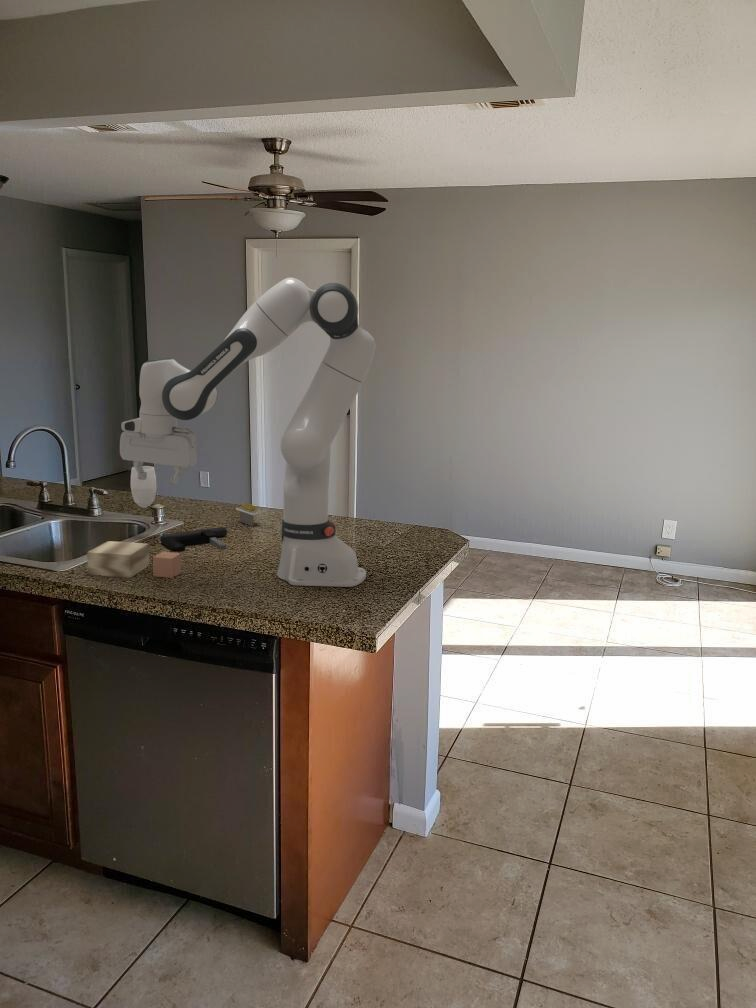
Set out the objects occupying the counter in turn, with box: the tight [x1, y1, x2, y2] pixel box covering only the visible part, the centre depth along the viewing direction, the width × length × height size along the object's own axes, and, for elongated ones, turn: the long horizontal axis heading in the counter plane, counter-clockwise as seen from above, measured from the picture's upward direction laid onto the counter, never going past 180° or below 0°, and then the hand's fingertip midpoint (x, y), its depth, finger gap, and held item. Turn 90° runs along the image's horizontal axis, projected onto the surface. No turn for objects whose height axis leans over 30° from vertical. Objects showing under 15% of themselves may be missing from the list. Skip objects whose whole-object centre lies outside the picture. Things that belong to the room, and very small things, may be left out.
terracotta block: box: [152, 551, 182, 579], centre depth 195 cm, size 5×5×5 cm
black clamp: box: [159, 526, 228, 553], centre depth 224 cm, size 3×20×16 cm
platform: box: [235, 502, 260, 527], centre depth 249 cm, size 12×18×7 cm, turn 40°
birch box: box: [86, 540, 150, 579], centre depth 197 cm, size 11×11×6 cm
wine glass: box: [130, 465, 157, 509], centre depth 227 cm, size 7×7×21 cm
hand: (158, 481), depth 193 cm, fingers open, 8 cm apart
